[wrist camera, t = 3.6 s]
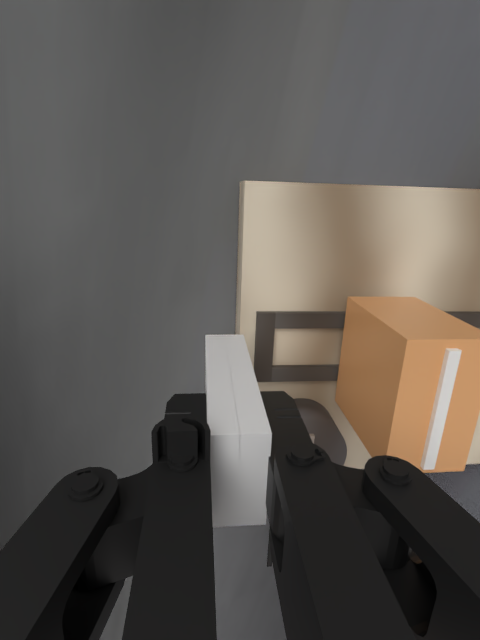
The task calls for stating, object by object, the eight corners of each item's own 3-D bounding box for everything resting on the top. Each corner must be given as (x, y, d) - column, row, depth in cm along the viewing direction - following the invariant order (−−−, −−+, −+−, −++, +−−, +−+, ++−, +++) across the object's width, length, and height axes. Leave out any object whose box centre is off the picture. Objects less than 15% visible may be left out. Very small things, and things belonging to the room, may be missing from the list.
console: (231, 449, 21) (239, 508, 18) (240, 181, 17) (252, 179, 13) (558, 437, 24) (631, 487, 20) (642, 195, 19) (758, 197, 15)
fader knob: (334, 399, 18) (385, 478, 13) (347, 296, 16) (410, 342, 12) (395, 398, 18) (467, 475, 13) (414, 296, 17) (503, 341, 12)
